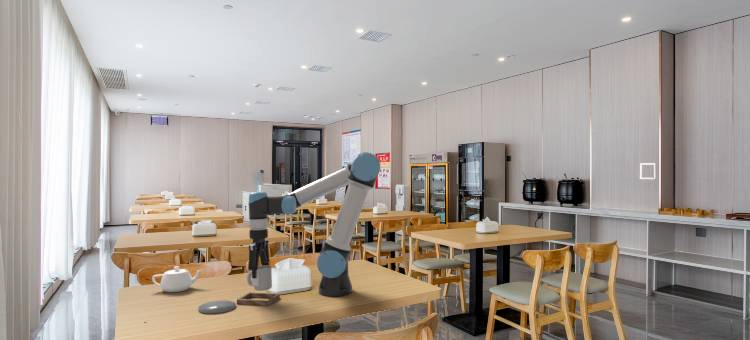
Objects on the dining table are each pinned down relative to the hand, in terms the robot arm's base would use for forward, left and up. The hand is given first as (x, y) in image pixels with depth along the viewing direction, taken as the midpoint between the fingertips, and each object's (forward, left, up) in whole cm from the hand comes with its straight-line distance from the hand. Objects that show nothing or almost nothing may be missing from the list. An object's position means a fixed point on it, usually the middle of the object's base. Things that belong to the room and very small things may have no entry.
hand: (259, 283), depth 181 cm
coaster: (+13, +12, -7) cm, 19 cm away
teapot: (+46, -10, -8) cm, 47 cm away
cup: (0, +1, -2) cm, 2 cm away
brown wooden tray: (+1, 0, -7) cm, 8 cm away
